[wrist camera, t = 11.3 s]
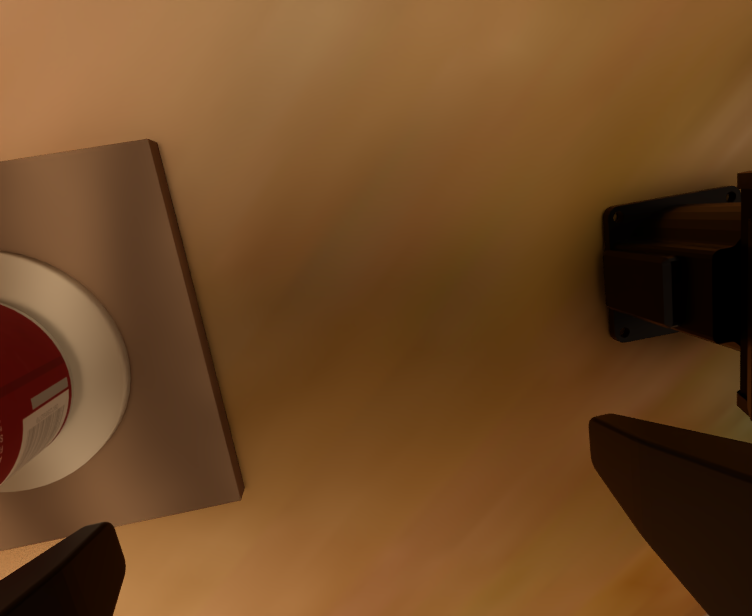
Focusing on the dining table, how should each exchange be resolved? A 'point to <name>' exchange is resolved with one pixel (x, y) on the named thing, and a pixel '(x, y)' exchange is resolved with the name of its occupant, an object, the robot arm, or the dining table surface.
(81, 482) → the walnut serving board
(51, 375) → the soda can
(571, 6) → the dining table surface
